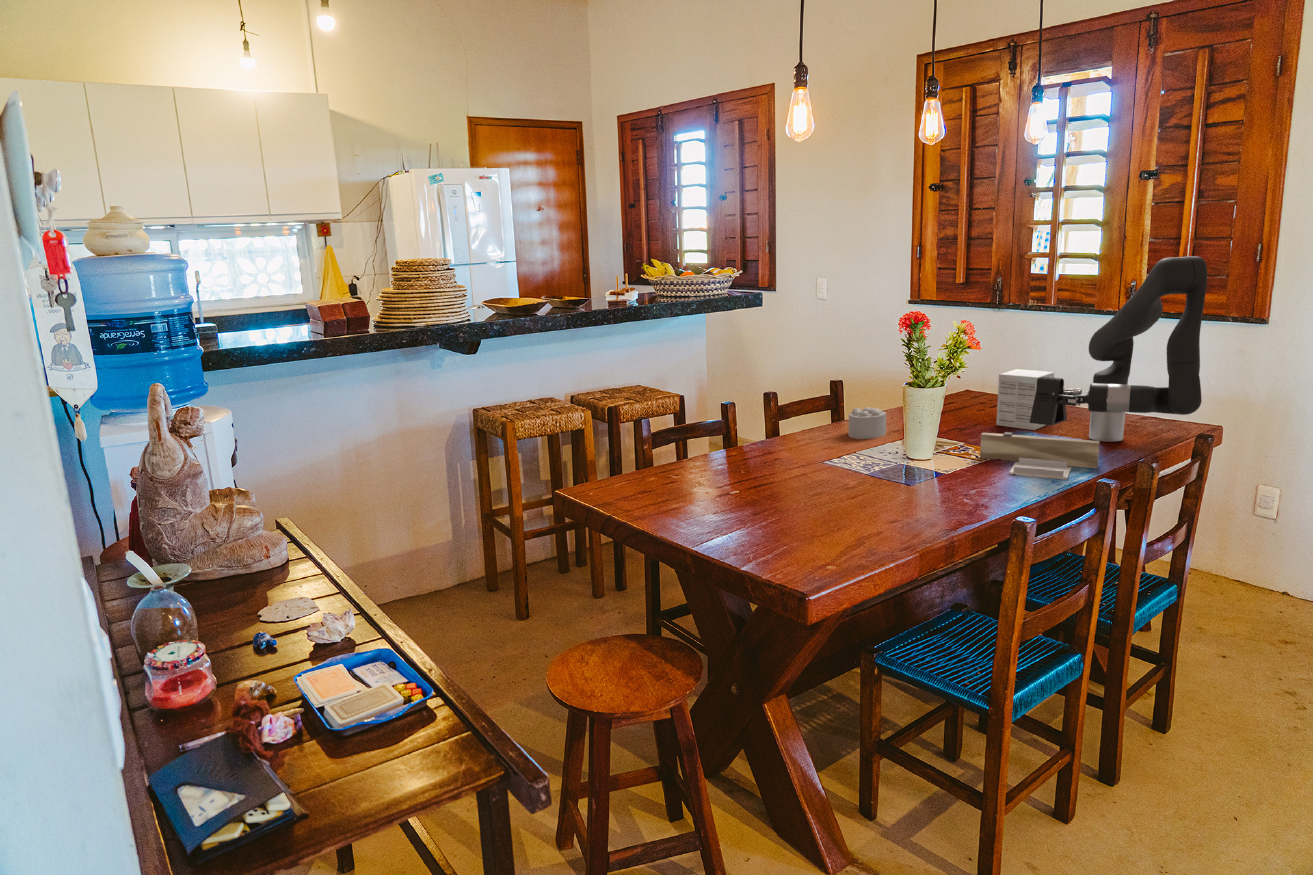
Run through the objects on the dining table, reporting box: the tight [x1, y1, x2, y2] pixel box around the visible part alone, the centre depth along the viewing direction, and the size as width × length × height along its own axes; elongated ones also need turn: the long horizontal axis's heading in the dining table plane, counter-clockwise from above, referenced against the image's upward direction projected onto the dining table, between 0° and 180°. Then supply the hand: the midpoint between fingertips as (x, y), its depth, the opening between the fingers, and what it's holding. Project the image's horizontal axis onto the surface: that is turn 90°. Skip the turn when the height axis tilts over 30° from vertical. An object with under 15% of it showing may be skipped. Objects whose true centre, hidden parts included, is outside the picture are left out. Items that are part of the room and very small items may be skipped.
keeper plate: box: [1008, 458, 1072, 481], centre depth 222 cm, size 11×14×2 cm
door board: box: [979, 431, 1101, 469], centre depth 230 cm, size 3×30×8 cm, turn 59°
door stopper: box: [1030, 377, 1068, 427], centre depth 222 cm, size 9×6×12 cm, turn 130°
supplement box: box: [995, 368, 1055, 431], centre depth 274 cm, size 13×13×18 cm
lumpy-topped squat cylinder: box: [848, 406, 887, 440], centre depth 271 cm, size 10×13×9 cm
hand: (1037, 395), depth 224 cm, fingers closed on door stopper, 3 cm apart
